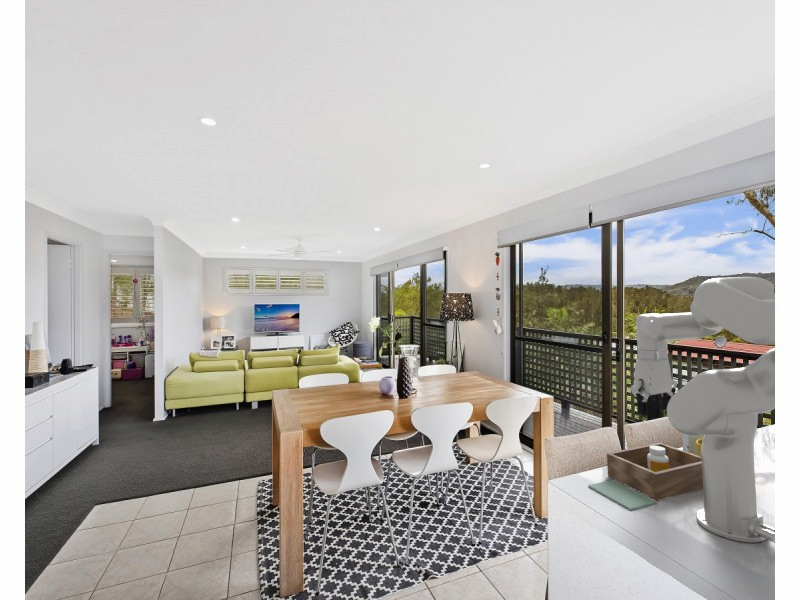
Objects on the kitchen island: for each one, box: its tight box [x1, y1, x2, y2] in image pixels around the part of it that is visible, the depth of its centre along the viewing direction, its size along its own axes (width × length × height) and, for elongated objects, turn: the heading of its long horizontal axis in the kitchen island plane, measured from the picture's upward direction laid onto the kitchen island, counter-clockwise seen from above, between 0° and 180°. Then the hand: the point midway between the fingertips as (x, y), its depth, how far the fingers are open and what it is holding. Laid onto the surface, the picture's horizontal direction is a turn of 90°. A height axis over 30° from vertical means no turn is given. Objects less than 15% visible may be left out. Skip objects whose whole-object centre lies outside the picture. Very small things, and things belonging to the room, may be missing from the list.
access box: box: [606, 442, 703, 502], centre depth 114 cm, size 16×22×7 cm
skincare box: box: [682, 433, 705, 456], centre depth 126 cm, size 6×4×12 cm
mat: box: [587, 479, 658, 511], centre depth 107 cm, size 14×9×1 cm, turn 18°
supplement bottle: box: [647, 446, 669, 472], centre depth 114 cm, size 5×5×10 cm
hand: (655, 412), depth 115 cm, fingers open, 9 cm apart
